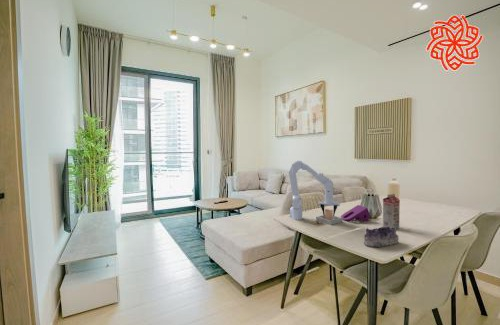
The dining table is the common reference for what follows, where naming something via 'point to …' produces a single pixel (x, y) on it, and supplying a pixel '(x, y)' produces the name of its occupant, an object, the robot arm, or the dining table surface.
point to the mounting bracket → (356, 214)
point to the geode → (380, 237)
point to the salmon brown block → (329, 214)
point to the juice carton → (391, 211)
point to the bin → (335, 220)
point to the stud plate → (317, 223)
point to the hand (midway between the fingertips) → (328, 215)
